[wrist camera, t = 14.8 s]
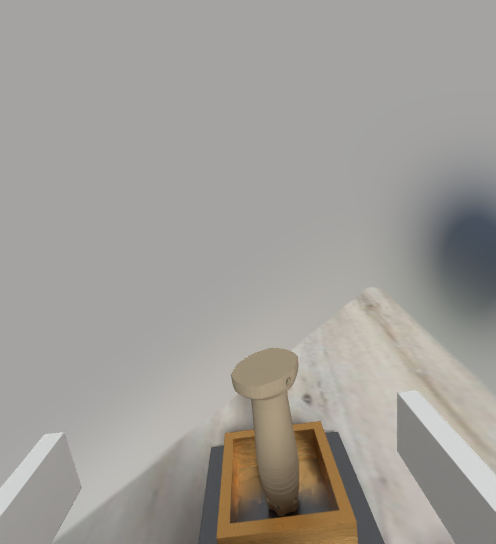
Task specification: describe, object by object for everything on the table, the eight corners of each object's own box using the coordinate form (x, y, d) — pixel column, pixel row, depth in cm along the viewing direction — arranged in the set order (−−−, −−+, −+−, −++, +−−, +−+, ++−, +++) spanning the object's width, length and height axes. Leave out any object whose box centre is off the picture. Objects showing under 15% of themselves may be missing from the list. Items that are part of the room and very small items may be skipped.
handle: (243, 513, 29) (220, 375, 26) (282, 467, 33) (266, 344, 30) (284, 548, 25) (263, 393, 22) (321, 490, 30) (308, 355, 27)
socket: (190, 631, 22) (178, 581, 21) (212, 454, 37) (206, 420, 36) (407, 606, 22) (405, 554, 21) (338, 438, 37) (335, 404, 36)
